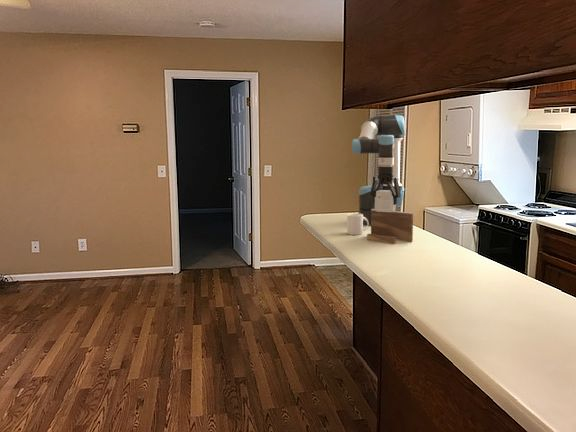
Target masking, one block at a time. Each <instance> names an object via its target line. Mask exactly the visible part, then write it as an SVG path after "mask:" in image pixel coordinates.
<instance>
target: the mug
mask: <svg viewBox="0 0 576 432" xmlns="http://www.w3.org/2000/svg"><path fill="white" fill-rule="evenodd" d="M346 216H347V218H346V221H347V222H346V232H347V235H349V234H350V235H351V236H360V235H363V233H364V232H365V231H366V230H367V229H368V227H369V225H366V227H364V225H363V220H366V221H367V223H368V220H367V219H366V218H365V217H363V214H358V213H347V215H346ZM368 224H369V223H368Z"/></svg>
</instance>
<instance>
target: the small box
mask: <svg viewBox="0 0 576 432" xmlns="http://www.w3.org/2000/svg"><path fill="white" fill-rule="evenodd" d="M392 198H393V196H392V192H391V191H390V190H378V191H376V211H377V212H392V211H391V204H392Z"/></svg>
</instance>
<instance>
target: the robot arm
mask: <svg viewBox="0 0 576 432" xmlns="http://www.w3.org/2000/svg"><path fill="white" fill-rule="evenodd" d="M404 117H405V116H403V115H397V114H395V115H394V114H393V115H390V114H389V115H375V116H371V117H370V118H367V120H365V121H364V122H363V123H362V125H361V127H360V131H361V132H360V135H359V137H358V138H354V139H352V141H351V151H352V153H353V154H358V155H362V154H364V155H365V154H378V156H377V157H378V161H377V163H378V164H377V165H378V167H377V174H378V175H377V176H376V175H375V176H372V184H370V185H363V186H361V187H360V188H359V190H358V193H359V194H358V196H359V197H358V213H357V214H363V217H365V218H366V219H367V220H368V223H369V224H368V223H367V221H366V220H363V226H367V225H368V226H371V209H375V210H376V191H378V190H390V191H391V192H392V196H393V198H392V204H391V211H392V212H393V211H396V208H399V207H401V206H402V205H403V201H404V194H405V187H403V184H402V183H401V182H400V181H401V180H400V176H401V175H400V172H401V143H402V140H403V139H404V136H406V134H407V133H406V123H405V118H404ZM375 136H377V137H378V138H374V137H375Z"/></svg>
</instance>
